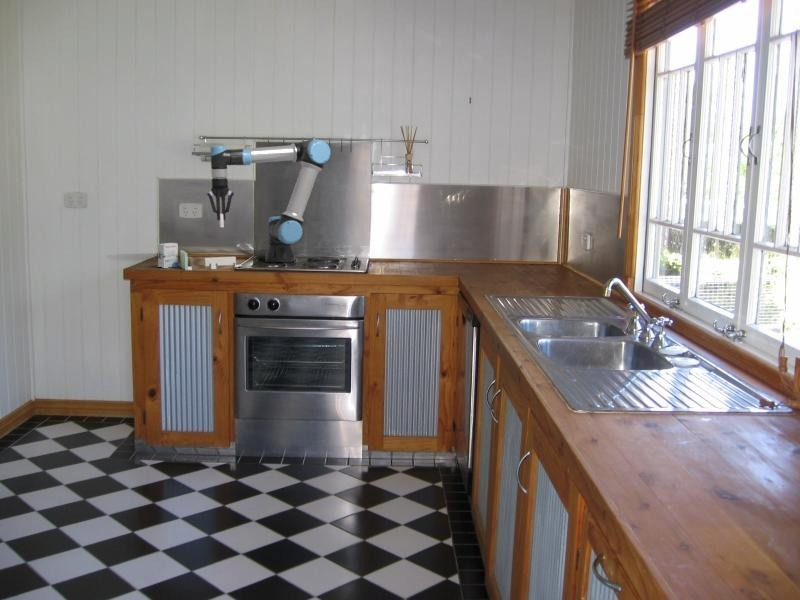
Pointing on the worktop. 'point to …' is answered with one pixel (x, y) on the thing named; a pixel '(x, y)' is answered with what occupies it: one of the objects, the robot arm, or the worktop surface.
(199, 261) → the block
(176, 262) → the ink box
